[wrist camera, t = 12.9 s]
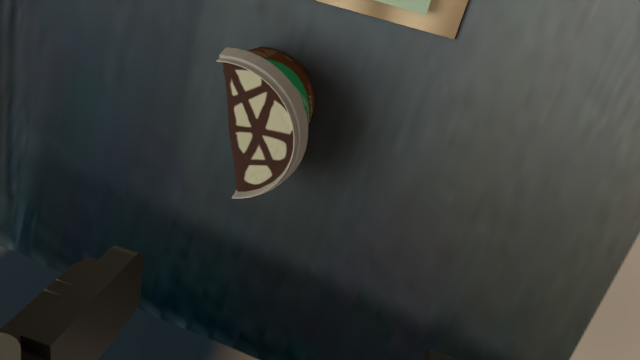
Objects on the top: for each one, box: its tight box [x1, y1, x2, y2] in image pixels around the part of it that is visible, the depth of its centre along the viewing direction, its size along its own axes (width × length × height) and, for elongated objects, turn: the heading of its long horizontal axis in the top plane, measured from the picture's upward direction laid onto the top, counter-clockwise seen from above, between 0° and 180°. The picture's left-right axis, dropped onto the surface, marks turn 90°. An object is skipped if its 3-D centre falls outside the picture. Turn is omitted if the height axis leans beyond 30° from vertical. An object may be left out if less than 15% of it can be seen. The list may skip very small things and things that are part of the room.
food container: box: [216, 47, 315, 198], centre depth 43 cm, size 12×6×10 cm, turn 2°
